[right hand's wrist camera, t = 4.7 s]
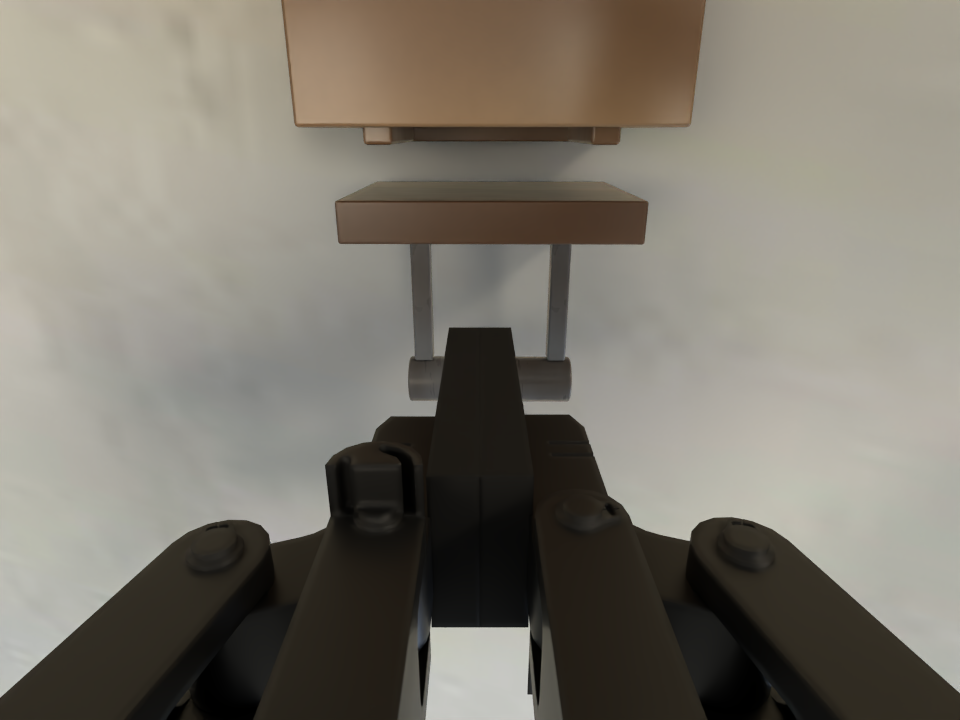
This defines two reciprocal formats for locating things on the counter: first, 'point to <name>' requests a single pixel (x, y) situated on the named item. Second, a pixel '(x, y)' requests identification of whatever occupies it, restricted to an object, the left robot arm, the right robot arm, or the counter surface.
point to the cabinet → (493, 62)
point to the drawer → (492, 236)
